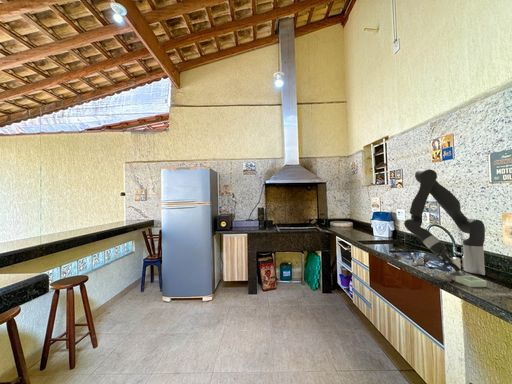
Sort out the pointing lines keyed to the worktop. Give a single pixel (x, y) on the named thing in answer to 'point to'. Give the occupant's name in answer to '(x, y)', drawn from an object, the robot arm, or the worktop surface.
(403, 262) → the worktop surface
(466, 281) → the bin
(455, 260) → the shiny silver cylinder
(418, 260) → the lighter
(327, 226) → the worktop surface
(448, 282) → the worktop surface
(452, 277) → the socket block
